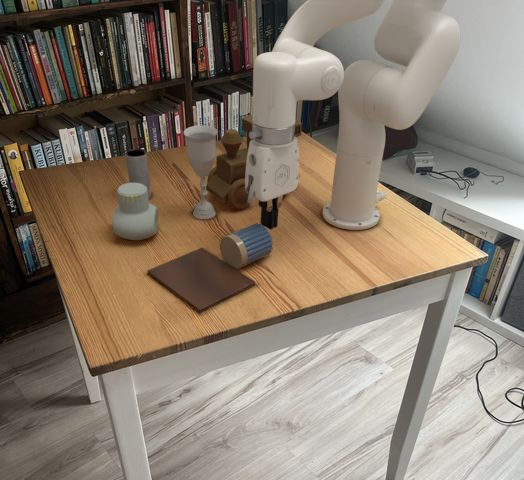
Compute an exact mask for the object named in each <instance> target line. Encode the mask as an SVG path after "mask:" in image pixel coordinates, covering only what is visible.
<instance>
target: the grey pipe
mask: <svg viewBox="0 0 524 480" xmlns="http://www.w3.org/2000/svg"><path fill="white" fill-rule="evenodd" d="M147 155H148V154H147V151H146V150H145V149H142V148H131V149H128V150H127V151H125V161H126V162H125V163H126V168H127V175H128V176H127V177H128V183H141V184H143V185H144V186H146V187H147V191H148V199H150V198H151V197H152V191H151V182H150V181H151V180H150V172H149V164H148V156H147Z"/></svg>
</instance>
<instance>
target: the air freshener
mask: <svg viewBox="0 0 524 480" xmlns="http://www.w3.org/2000/svg"><path fill="white" fill-rule="evenodd" d="M116 192H117V201H118V206H116V207H115V208H114V211H113V214H112V231H113V233H114V234H115V235H117V236H118V237H120V238H122V239H125V240H130V241H142V240H146V239H149V238H151V237H154V236H155V235H156V234H158V231H159V223H160V222H159V221H160V213H159V208H158V207H157V206H156V205H154V204H152V203H151V202H150V201H149V199H150V198H148V191H147V187H146V186H144V185H143V184H141V183H129V182H127V183H123V184H121V185H120V186H119V187H118V188H117V189H116Z"/></svg>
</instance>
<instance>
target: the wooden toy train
mask: <svg viewBox="0 0 524 480" xmlns="http://www.w3.org/2000/svg"><path fill="white" fill-rule="evenodd" d="M252 115H253V114H249V115H246V116H244V117H241V130H242V131H243V132H245V133H246V148H240V147H241V145H242V142H243V139H244V138H243V137H242V136H241V134H240V132H239V131H238V130H237V129H233V128H230V129H227V130H225V132H224V134H223V135H222V137H221V140H220V141H221V143H222V146H223V148H224V150H225V152H224V153H221V154H218V155H216V157H215V160H216V161H215V164H216V165H215V166H214V167H212V169H211V171H210V173H209V175H208V176H207V180H206V184H207V186H206V188H205V190H206V192H207V193H210V194H211V195H212V196H214V198H217V199H218V200H219V201H220V202H221V203H228V204H229V206H230V207H231V208H232V209H235V210H244V209H246V208H247V207H248V206H251V205H250V204H248V203H247V200H248V195H249V194H247V193H246V190H245V172H246V161H247V154H248V149H249V144H250V141H252V140H251V139H250V137H249V132H251V131H252ZM302 128H303V123H302V122H301V121H299V120H298V119H296V120H295V134H294V136H295V137H296V138H297V137H301V136H302V130H303V129H302Z"/></svg>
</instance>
